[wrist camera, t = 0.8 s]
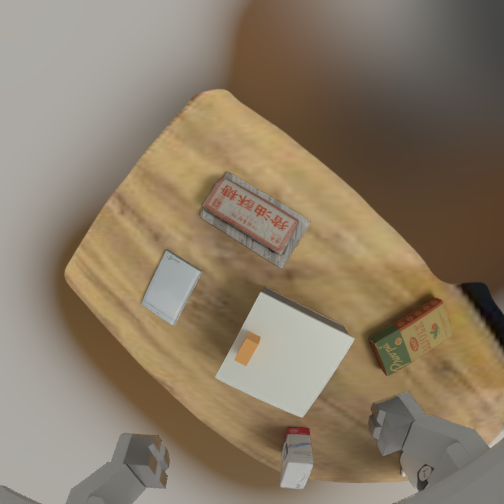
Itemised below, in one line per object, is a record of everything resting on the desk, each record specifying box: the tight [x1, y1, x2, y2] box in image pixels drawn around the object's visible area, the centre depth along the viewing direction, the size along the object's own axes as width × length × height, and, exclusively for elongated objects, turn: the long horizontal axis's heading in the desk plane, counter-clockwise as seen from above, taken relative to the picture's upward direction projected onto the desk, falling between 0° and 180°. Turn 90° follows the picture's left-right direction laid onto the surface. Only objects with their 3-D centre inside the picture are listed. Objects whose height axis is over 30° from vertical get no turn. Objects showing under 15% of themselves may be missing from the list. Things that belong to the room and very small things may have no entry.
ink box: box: [280, 427, 314, 489], centre depth 46 cm, size 9×5×12 cm, turn 172°
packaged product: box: [201, 172, 311, 269], centre depth 50 cm, size 18×5×10 cm
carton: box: [368, 298, 453, 376], centre depth 46 cm, size 8×16×4 cm, turn 118°
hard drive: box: [141, 250, 203, 326], centre depth 54 cm, size 2×8×12 cm
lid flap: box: [215, 292, 355, 418], centre depth 41 cm, size 17×17×4 cm
